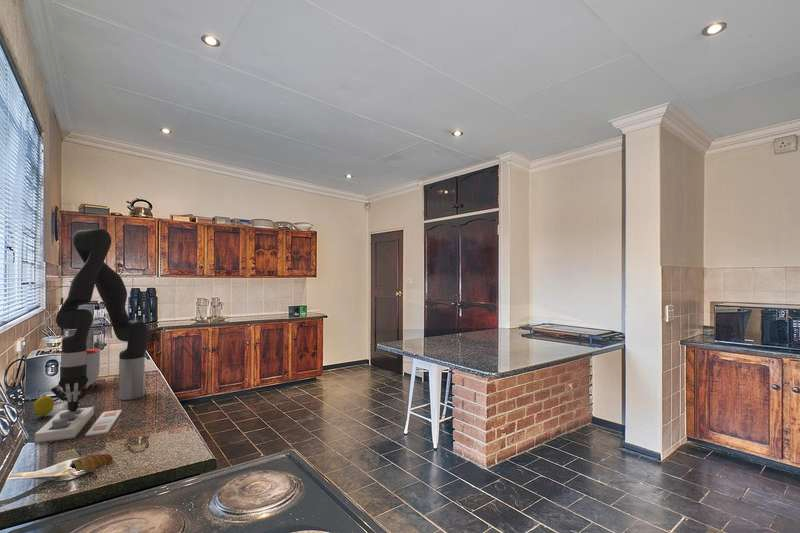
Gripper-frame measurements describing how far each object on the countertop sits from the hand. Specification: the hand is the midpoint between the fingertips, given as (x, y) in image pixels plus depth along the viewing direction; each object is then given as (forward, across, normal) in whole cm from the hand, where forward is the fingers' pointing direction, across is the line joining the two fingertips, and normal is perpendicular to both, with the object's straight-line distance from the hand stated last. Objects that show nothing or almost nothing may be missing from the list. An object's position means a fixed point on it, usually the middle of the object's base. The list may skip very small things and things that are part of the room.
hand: (73, 411), depth 144 cm
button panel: (+4, 0, +7) cm, 8 cm away
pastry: (+4, -15, +45) cm, 48 cm away
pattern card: (+4, -11, +7) cm, 14 cm away
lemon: (+4, +11, -10) cm, 16 cm away
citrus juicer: (+4, +11, -49) cm, 50 cm away
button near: (+2, 0, +14) cm, 14 cm away
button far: (+3, 0, 0) cm, 3 cm away
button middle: (+2, 0, +7) cm, 7 cm away
